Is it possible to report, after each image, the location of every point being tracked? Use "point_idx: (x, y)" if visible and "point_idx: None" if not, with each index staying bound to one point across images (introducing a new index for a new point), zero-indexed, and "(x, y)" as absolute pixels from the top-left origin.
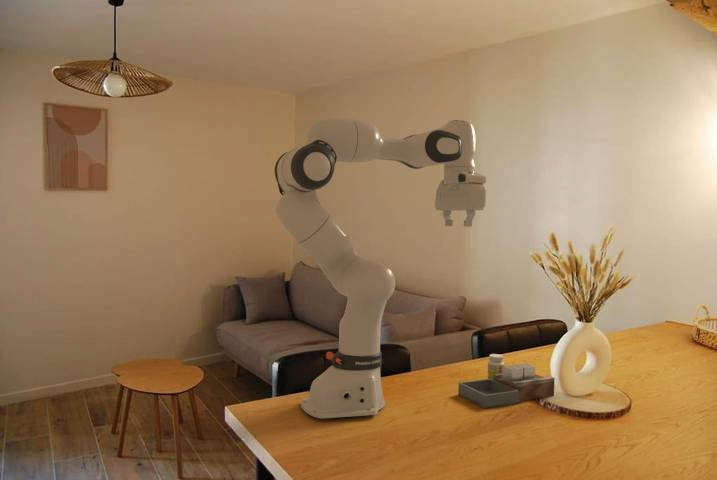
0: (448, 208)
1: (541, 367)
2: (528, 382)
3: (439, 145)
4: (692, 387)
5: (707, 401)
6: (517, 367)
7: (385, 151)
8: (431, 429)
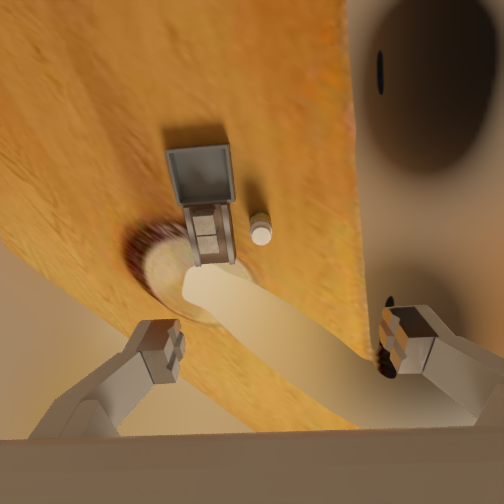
0: (428, 446)
1: (298, 307)
2: (187, 228)
3: None
4: (195, 375)
5: None
6: (201, 230)
7: None
8: (101, 17)
